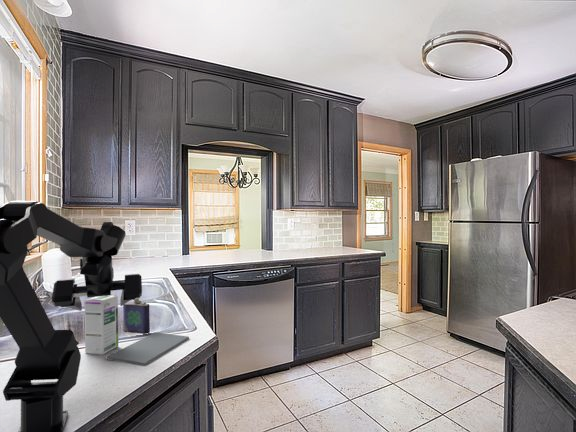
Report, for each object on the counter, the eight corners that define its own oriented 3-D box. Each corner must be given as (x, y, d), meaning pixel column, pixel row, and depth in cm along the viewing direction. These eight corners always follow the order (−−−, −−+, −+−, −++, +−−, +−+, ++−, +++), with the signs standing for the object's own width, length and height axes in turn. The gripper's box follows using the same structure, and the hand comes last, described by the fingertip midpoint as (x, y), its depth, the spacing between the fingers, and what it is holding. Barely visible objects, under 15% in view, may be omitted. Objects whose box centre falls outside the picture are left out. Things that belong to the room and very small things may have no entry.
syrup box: (103, 355, 83) (103, 299, 83) (83, 353, 84) (84, 298, 84) (118, 346, 89) (118, 294, 89) (100, 344, 90) (100, 293, 90)
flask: (121, 332, 100) (121, 298, 100) (127, 328, 103) (128, 295, 103) (146, 334, 98) (146, 299, 98) (152, 331, 101) (152, 297, 101)
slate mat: (144, 365, 77) (144, 363, 77) (106, 359, 81) (106, 356, 81) (188, 338, 94) (188, 336, 94) (155, 334, 98) (155, 332, 98)
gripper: (141, 243, 83) (139, 278, 93) (54, 246, 74) (62, 284, 84) (142, 278, 76) (140, 312, 86) (46, 286, 67) (56, 322, 77)
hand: (101, 306), depth 83 cm, fingers open, 9 cm apart
